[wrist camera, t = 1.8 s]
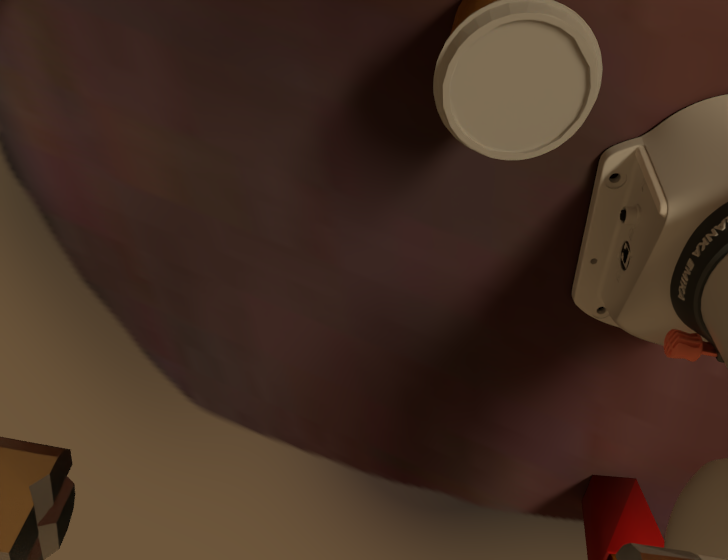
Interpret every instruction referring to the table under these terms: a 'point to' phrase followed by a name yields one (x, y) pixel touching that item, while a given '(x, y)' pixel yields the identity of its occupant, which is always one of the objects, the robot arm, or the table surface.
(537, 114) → the disposable coffee cup
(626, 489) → the french fries
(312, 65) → the table surface
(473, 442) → the table surface
